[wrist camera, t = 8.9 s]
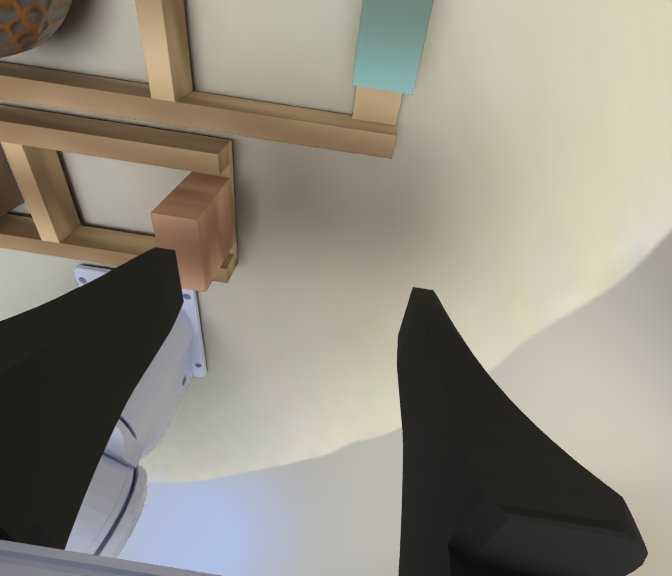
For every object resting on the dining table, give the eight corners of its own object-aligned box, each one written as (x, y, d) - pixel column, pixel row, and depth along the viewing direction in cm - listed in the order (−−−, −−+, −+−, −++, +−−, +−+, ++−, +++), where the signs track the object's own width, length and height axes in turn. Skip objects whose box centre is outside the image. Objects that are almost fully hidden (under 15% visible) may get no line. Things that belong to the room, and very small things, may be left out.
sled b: (237, 263, 24) (208, 318, 20) (-89, 212, 24) (-181, 257, 20) (231, 140, 19) (192, 181, 16) (-174, 78, 20) (-313, 103, 16)
